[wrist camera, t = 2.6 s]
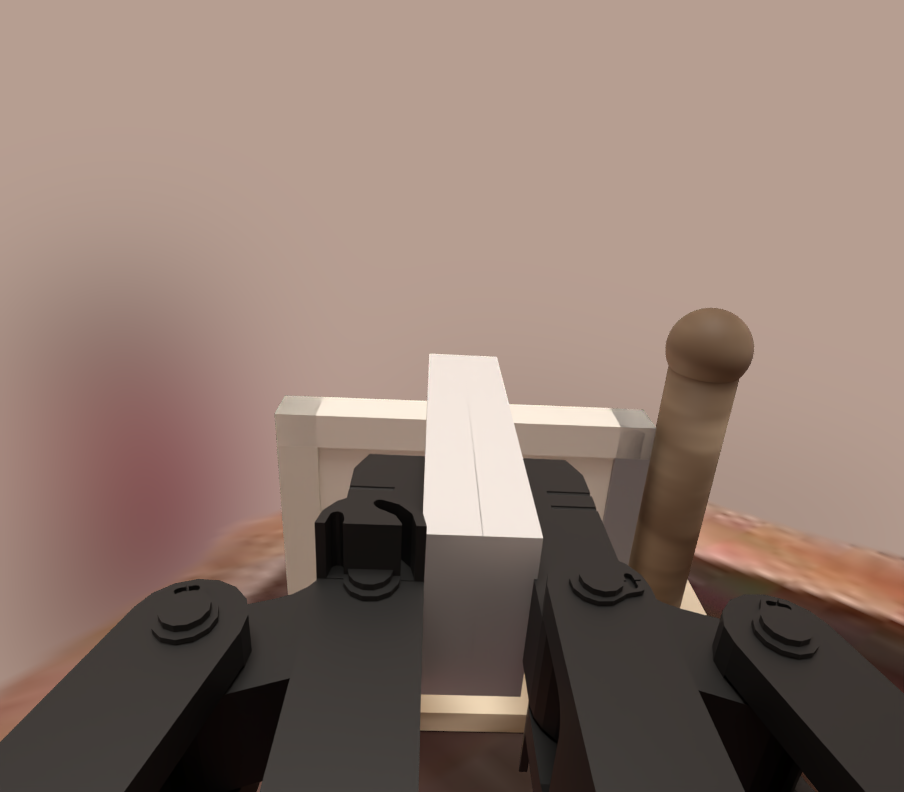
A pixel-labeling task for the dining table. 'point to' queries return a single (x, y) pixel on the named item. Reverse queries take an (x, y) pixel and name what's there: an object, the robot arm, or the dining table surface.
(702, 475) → the gate frame
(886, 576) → the dining table surface
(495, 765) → the dining table surface
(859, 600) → the dining table surface
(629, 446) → the gate
